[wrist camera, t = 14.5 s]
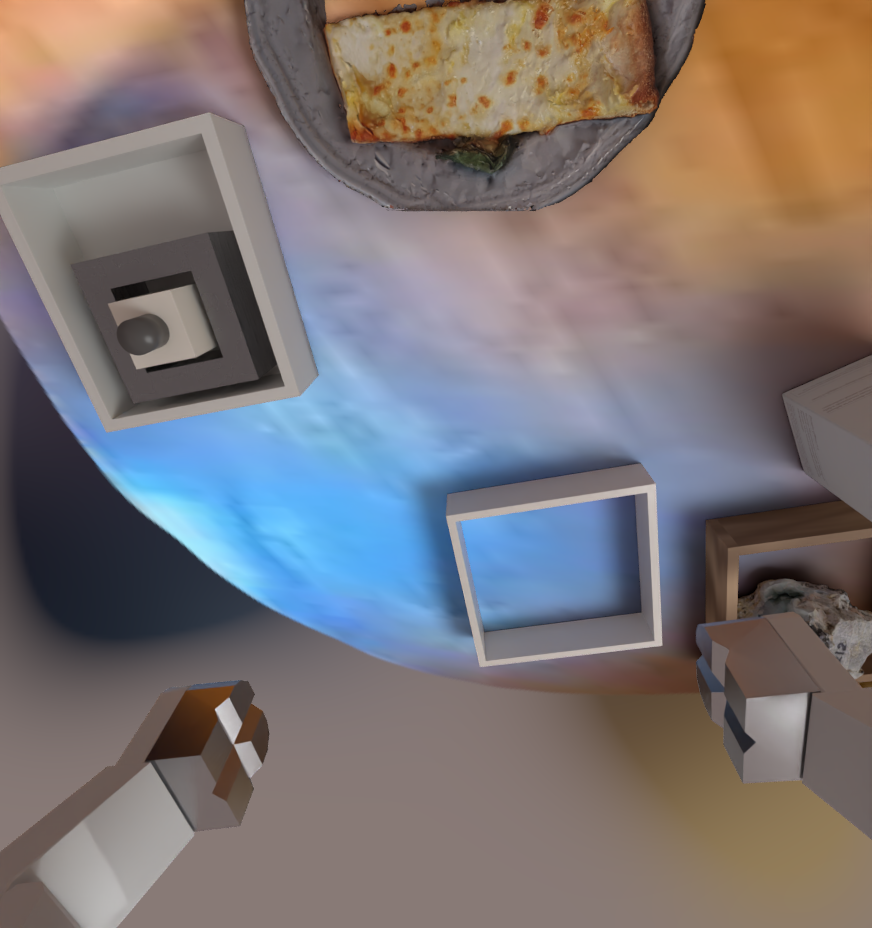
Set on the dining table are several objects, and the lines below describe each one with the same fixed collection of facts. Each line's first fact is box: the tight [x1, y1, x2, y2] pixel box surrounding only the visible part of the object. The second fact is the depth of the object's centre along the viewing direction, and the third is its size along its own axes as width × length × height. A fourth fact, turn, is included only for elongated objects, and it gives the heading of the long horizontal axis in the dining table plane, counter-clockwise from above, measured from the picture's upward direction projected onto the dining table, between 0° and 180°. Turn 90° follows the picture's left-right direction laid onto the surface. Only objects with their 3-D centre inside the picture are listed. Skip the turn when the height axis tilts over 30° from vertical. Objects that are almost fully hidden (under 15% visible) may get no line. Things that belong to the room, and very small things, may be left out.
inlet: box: [70, 231, 277, 403], centre depth 36 cm, size 9×9×4 cm
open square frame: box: [446, 463, 662, 667], centre depth 44 cm, size 15×15×4 cm
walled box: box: [0, 112, 319, 432], centre depth 35 cm, size 16×14×5 cm
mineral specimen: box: [737, 578, 872, 679], centre depth 45 cm, size 10×8×10 cm
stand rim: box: [706, 500, 872, 683], centre depth 44 cm, size 15×15×4 cm
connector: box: [108, 283, 218, 369], centre depth 34 cm, size 4×4×8 cm
